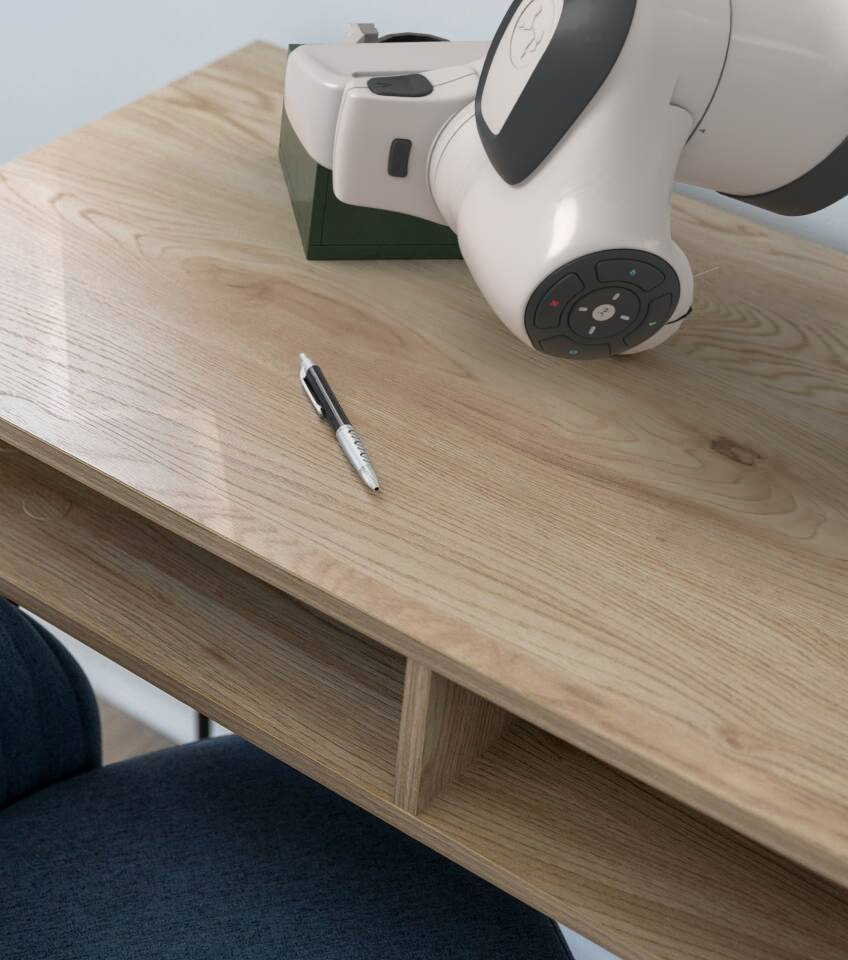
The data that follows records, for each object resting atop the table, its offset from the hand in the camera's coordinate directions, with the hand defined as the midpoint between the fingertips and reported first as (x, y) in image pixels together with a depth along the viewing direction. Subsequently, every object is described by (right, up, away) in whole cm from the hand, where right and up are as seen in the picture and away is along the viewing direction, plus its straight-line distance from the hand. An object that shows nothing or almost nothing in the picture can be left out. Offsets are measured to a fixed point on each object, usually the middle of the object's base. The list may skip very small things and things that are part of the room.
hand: (436, 33), depth 95 cm
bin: (-1, -8, +10) cm, 13 cm away
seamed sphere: (+11, -18, -1) cm, 22 cm away
